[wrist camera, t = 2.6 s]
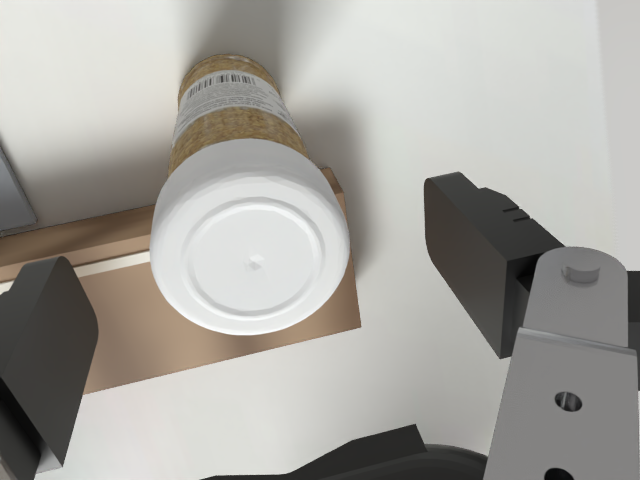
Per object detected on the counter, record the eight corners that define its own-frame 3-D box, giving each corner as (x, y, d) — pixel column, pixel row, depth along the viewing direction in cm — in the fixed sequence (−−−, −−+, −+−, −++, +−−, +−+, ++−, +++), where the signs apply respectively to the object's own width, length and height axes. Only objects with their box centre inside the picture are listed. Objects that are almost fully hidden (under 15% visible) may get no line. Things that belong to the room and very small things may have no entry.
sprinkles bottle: (178, 149, 23) (149, 346, 12) (177, 44, 21) (141, 161, 10) (277, 155, 24) (339, 340, 13) (286, 55, 22) (370, 172, 11)
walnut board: (329, 167, 25) (344, 193, 22) (347, 294, 29) (361, 328, 27) (-183, 276, 23) (-234, 319, 20) (-85, 396, 27) (-116, 444, 24)
